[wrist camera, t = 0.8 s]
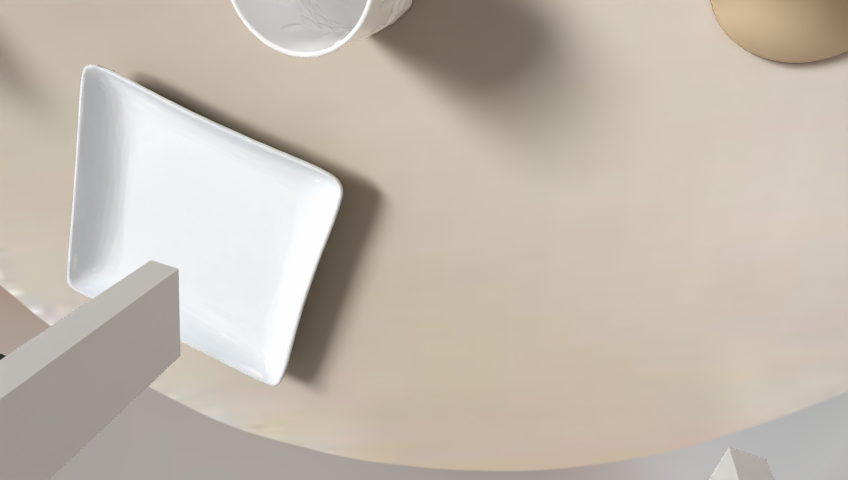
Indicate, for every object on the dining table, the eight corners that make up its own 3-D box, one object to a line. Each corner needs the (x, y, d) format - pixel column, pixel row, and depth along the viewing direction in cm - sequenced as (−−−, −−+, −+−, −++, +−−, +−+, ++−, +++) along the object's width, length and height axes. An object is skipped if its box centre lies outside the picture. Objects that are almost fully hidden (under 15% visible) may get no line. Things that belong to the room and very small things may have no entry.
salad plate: (363, 168, 41) (345, 183, 38) (294, 369, 52) (276, 394, 49) (113, 51, 43) (77, 57, 40) (94, 270, 53) (64, 288, 50)
